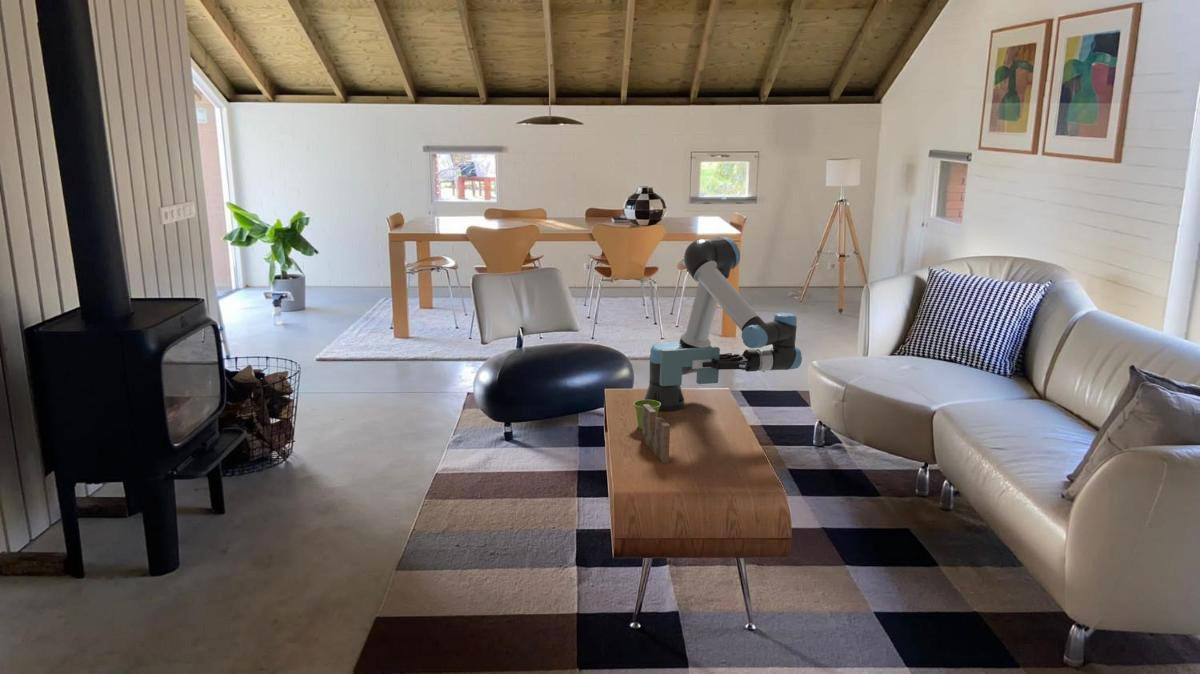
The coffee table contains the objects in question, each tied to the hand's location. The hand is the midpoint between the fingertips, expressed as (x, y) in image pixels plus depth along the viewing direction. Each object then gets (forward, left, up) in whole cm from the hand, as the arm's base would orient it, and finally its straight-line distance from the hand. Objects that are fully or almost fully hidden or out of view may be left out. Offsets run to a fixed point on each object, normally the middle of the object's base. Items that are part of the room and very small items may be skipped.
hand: (691, 363), depth 279 cm
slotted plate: (0, 0, -7) cm, 7 cm away
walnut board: (+12, -16, -25) cm, 32 cm away
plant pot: (-10, -12, -25) cm, 30 cm away
